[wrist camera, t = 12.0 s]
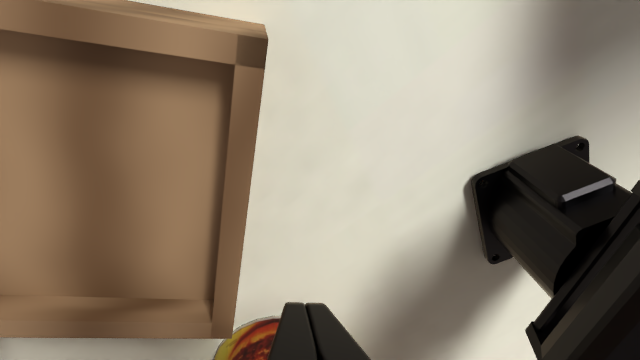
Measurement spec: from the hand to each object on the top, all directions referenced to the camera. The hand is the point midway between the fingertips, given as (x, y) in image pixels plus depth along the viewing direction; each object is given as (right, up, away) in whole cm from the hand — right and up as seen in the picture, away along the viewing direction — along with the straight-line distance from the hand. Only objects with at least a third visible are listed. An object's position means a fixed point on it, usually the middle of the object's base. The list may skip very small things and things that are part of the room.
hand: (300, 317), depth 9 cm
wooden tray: (-9, +4, +10) cm, 14 cm away
